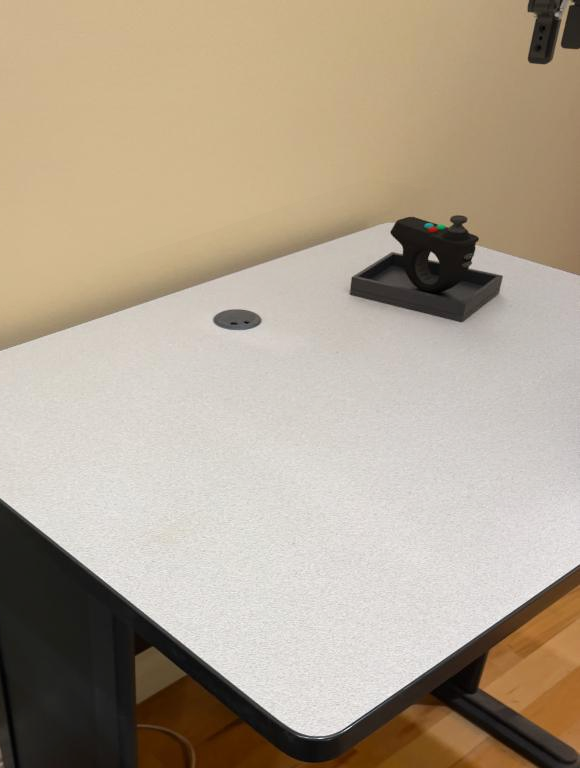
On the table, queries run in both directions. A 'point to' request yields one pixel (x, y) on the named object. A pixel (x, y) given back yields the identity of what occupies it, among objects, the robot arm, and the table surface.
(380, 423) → the table surface
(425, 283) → the controller
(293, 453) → the table surface
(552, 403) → the table surface
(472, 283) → the dock
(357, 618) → the table surface
